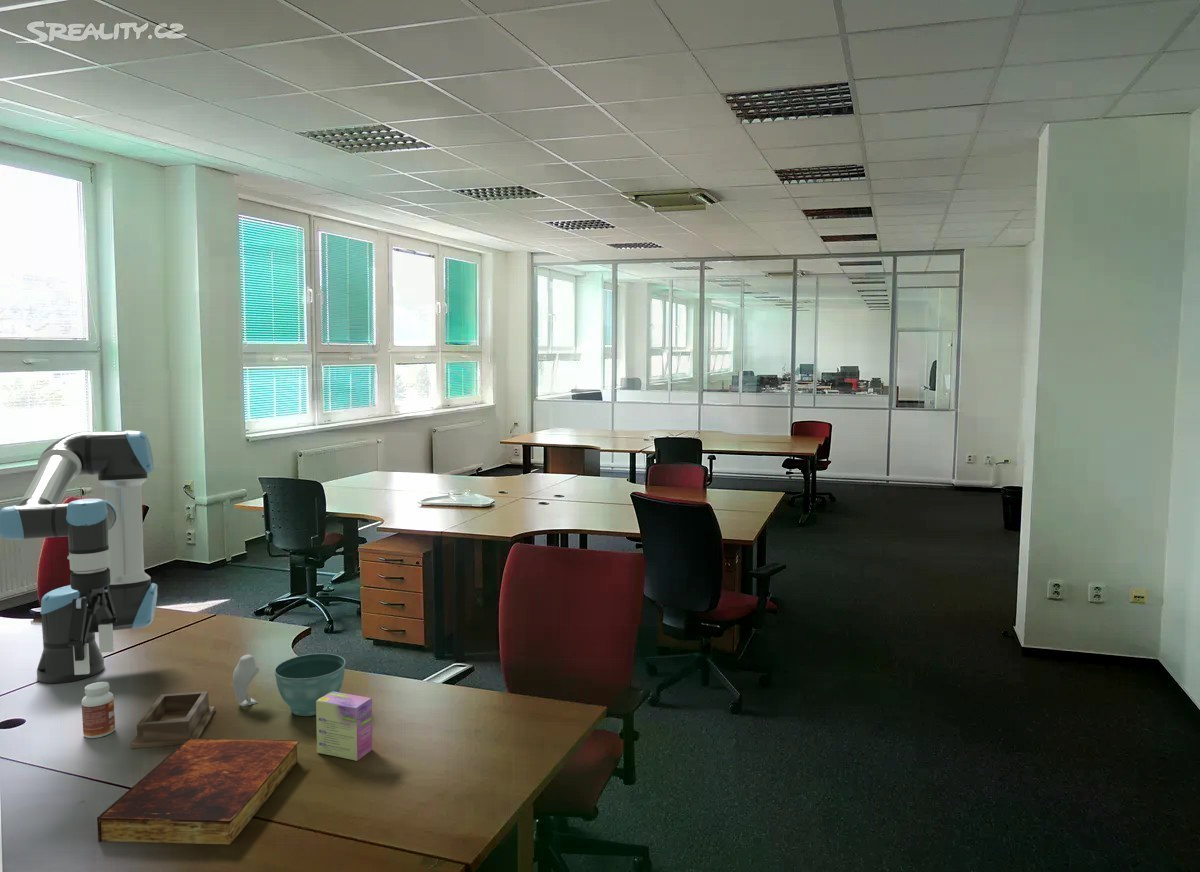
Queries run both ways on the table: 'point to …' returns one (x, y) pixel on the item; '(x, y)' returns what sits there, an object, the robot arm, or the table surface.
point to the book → (200, 792)
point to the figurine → (244, 679)
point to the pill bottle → (98, 710)
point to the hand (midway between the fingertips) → (95, 662)
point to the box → (344, 725)
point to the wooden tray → (174, 719)
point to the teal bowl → (309, 680)
